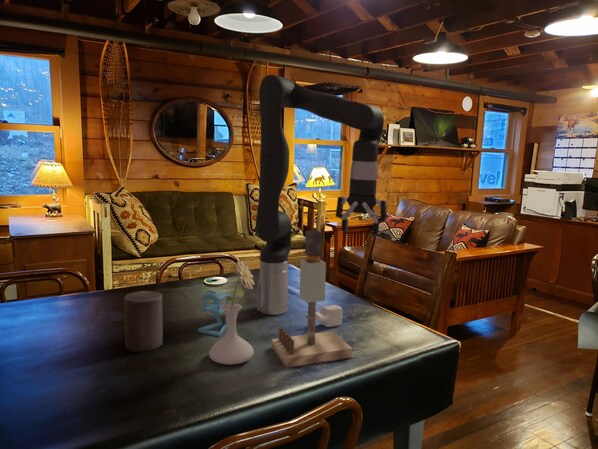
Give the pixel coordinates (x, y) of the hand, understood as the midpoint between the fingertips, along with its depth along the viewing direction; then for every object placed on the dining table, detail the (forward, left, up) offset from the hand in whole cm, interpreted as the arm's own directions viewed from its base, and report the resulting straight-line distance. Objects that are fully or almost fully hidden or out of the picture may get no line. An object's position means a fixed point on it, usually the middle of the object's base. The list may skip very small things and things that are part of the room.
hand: (359, 234), depth 128 cm
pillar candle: (-50, -33, -30) cm, 67 cm away
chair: (-38, -16, -30) cm, 51 cm away
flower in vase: (-24, -30, -30) cm, 49 cm away
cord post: (-7, -19, -29) cm, 36 cm away
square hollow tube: (-7, -19, -15) cm, 25 cm away
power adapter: (-10, 0, -30) cm, 31 cm away
